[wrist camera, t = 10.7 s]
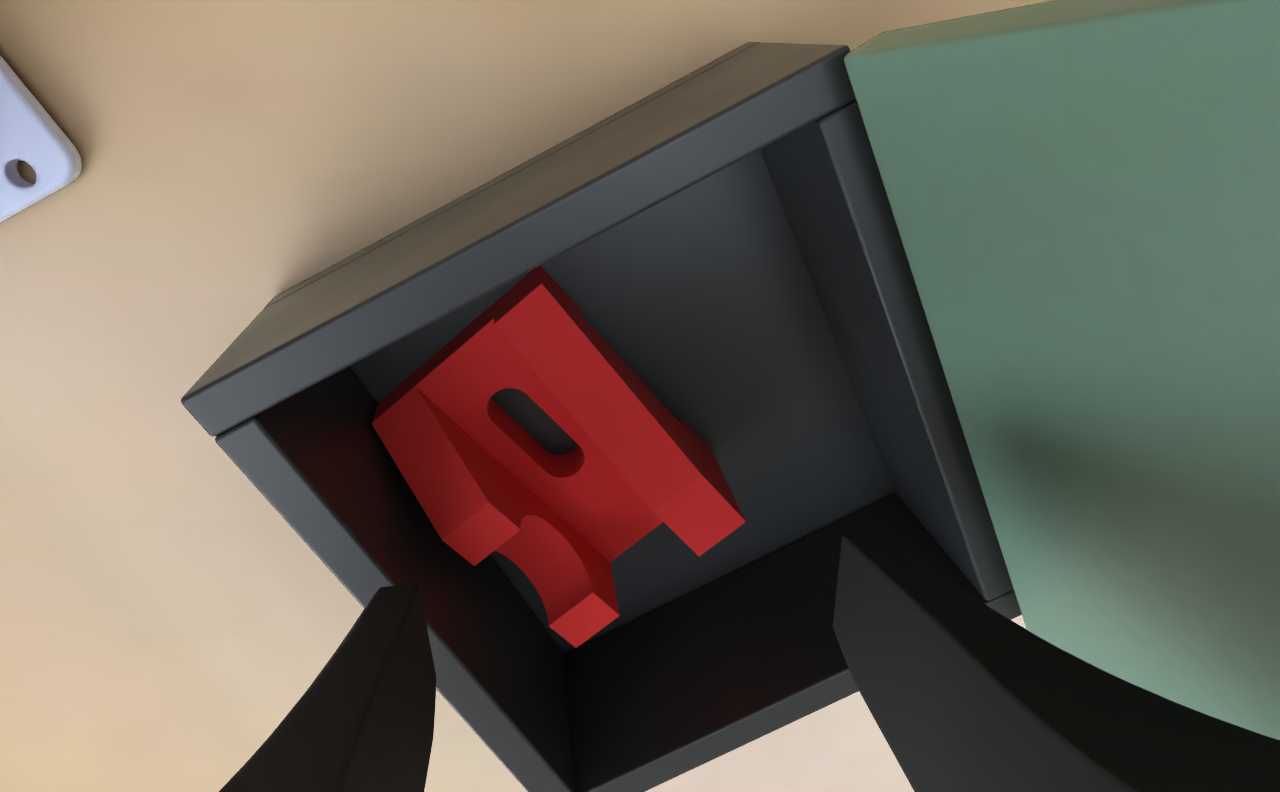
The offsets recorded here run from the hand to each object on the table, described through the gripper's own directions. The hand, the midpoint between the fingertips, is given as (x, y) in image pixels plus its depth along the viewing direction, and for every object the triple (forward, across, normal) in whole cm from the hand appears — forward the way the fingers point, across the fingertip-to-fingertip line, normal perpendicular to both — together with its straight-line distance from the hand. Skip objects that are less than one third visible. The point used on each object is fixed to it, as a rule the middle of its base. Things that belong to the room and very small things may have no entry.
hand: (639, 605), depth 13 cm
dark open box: (+7, -1, 0) cm, 7 cm away
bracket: (+6, +1, 0) cm, 6 cm away
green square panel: (-5, -7, -3) cm, 9 cm away
